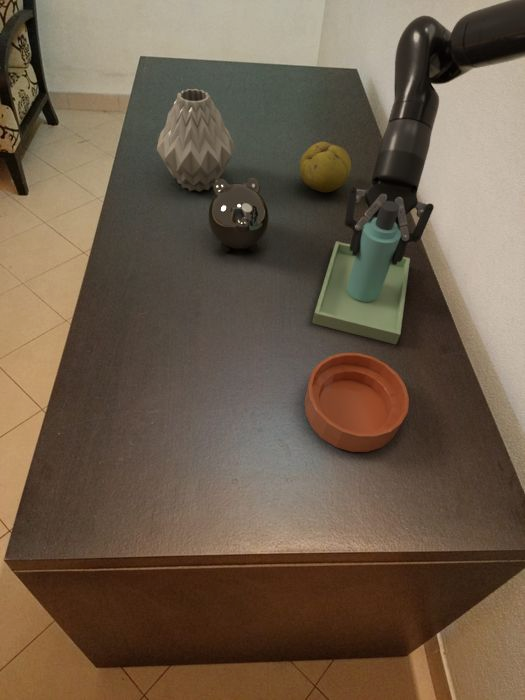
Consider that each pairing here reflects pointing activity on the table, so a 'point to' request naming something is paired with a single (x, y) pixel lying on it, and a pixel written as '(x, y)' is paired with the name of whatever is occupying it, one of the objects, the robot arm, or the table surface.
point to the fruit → (325, 167)
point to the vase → (195, 141)
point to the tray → (360, 316)
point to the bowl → (355, 402)
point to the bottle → (375, 254)
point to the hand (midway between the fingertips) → (374, 259)
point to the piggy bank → (238, 214)
